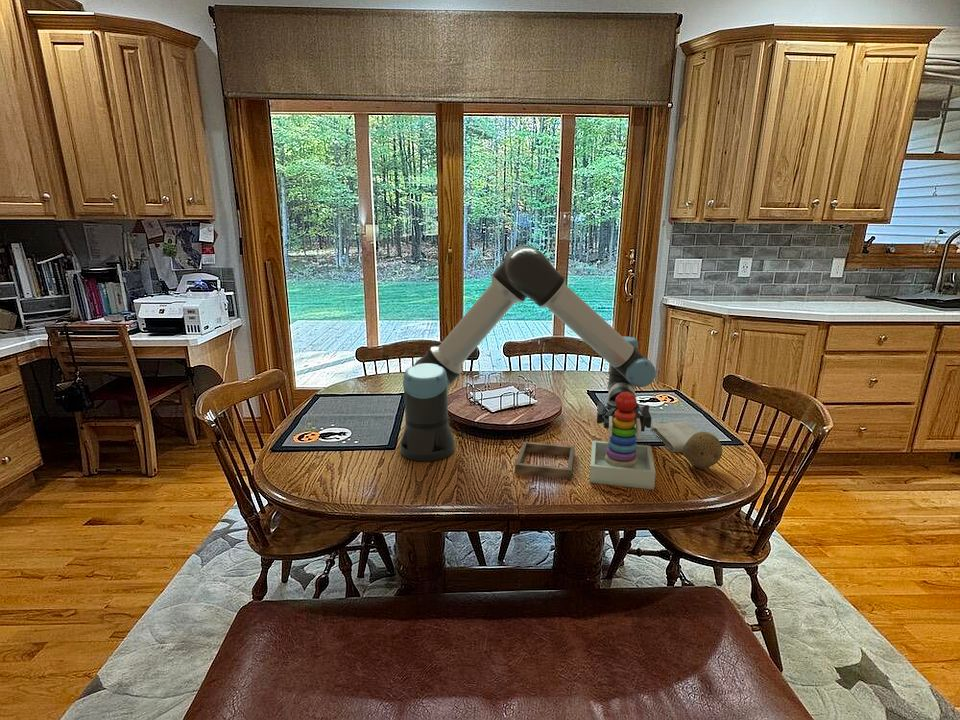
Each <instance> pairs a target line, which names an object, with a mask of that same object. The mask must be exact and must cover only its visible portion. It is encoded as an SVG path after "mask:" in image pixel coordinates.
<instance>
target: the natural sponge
mask: <svg viewBox="0 0 960 720" xmlns="http://www.w3.org/2000/svg"><path fill="white" fill-rule="evenodd" d="M697 432H698V431H697ZM722 446H723V445H722V443H721V441H720V440H719V439H718V438H717V436H716V435H714V434H713V433H710V432H707V431H699V432H698V433H696V434H694V435H693V436H692V437H690V439H689V440H688V441H687V443H686V444H685V446H684V452H683V455H684V457H685V458H686V459H687V460H688V461H689V462H690V463H691V464H692V465H693V466H694V467H696V468H697V469H699V470H706V469H708V468H710V467H712V466H714V465H716V464H717V463H719V461H720V460H721V459H722V456H723V447H722Z"/></svg>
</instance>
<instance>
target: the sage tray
mask: <svg viewBox="0 0 960 720" xmlns="http://www.w3.org/2000/svg"><path fill="white" fill-rule="evenodd" d="M608 442H609V441H604V440H603V441H602V440H592V441H591V453H590V464H589V466H590V467H589V469H590V471H589V483H590V484H597V485H598V484H599V485H600V484H601V485H605V486H606V485H608V486H617V487H623V488H635V489H643V490H651V489H652V490H655V481H656V468H655V463H654V462H655V461H654V456H653V452H652V446H651V445H644V444H637V449H636V451H637V456H636V457H637V459H638V462H637V464H636V465H635V466H634V467H632V468H624V467H614V466H611V465H609V464H608V463H607V462H606V461H605V455H606V454H607V453H606V449H607V447H608ZM652 490H651V491H652Z"/></svg>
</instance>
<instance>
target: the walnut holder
mask: <svg viewBox="0 0 960 720" xmlns="http://www.w3.org/2000/svg"><path fill="white" fill-rule="evenodd" d="M575 449H576V448H575V446H574V445H573V446H572V445H565V444H564V445H563V444H552V443H541V442H532V441H523V442H522V445H521V448H520V451H519V452H518V456H517V458H516V460H515V461H516V462H515V464H514V474H516V473H519V474H518V475H525V474H526V475H527V476H533V477H544V478H553V479H563V480H572V475H573V473H572V472H573V466H574V461H575ZM527 453H535V454H536V453H537V454H545V455H546V454H547V455H554V456H555V455H556V456H564V455H565V457H568V462H567V463H568V464H567V467H561V466H550V465H542V464H532V463H531V464H530V463H523V462H524V460H525V457H526V455H527ZM526 475H525V476H526Z"/></svg>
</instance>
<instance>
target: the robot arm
mask: <svg viewBox="0 0 960 720" xmlns="http://www.w3.org/2000/svg"><path fill="white" fill-rule="evenodd" d="M566 282H567V281H566V278H565V277H564V276H563V275H562V274H561V273H560V272H559V271H558V270H557V269H556V268H555V267H554V266H553V264H552V263H551V262H550V261H549V259H548V258H547V256H546V255H545V254H544V253H543V252H541V250H538V249H537V248H535V247H534V246H531V245H527V244H526V245H518V246H515V247H514V248H512V249H510V250H509V251H508V252H507V253H506V254H505V256H504V257H503V260H502V262H501V263H500V265H498V267H497V268H496V269H495V271H493V273H492V274H491V284H490V285H489V286H488V287H487V288H486V289H485V290H484V292H483V293H482V294H481V295H480V297H478V299H477V300H476V302H475V303H474V304H473V305H472V306H471V307H470V308H469V310H468V311H467V312H466V313H465V314H464V315H463V317H462V318H461V319H460V321H458V323H456V325H455V326H454V328H453V329H452V330H451V331H450V332H449V333H448V335H447V336H446V337H445V338H444V339H443V340H442V342H441V343H440V344H439V345H433V346H431V347H430V348H429V349H428V351H426V353H425V354H424V355H423V356H422V357H420V358H419V359H418V360H416V362H415V363H414V364H413V366H410V367H408V368H407V369H406V370H405V372H404V374H403V379H402V385H403V394H404V398H403V399H404V417H405V418H404V420H405V427H404V428H403V429H404V430H403V433H402V436H401V441H400V443H399V444H400V446H399V447H400V448H399V449H400V454H401V456H403V457H404V458H405V457H406V459H407V458H408V460H410V459H411V460H410V461H415V462H421V463H422V462H436V461H441V460H442V459H443V460H444V459H446V458H448V457H450V456H452V455H453V454H454V452H455V450H456V445H455V444H456V442H455V441H456V440H455V438H454V436H453V432H452V429H451V427H450V424H449V407H448V406H449V405H448V400H449V399H448V394H449V388H450V386H451V385H452V384H453V383H454V382H455V380H456V379H457V378H459V376H460V375H461V374H462V364H463V363H464V362H465V361H466V360H467V359H468V357H469V356H470V355H471V354H472V353H473V352H474V351H475V349H477V347H478V346H479V345H480V344H481V342H483V341H484V339H485V338H486V337H487V336H488V334H489V333H491V331H492V330H493V329H494V328H495V326H496V325H497V324H498V323H499V322H500V321H501V320H502V319H503V317H504V316H505V315H506V313H507V312H509V310H510V309H512V307H513V306H514V304H516V303H523V302H524V301H525V300H526V299H527V298H529V299H530V300H532V301H533V302H534V303H535V304H536V305H537V306H538V307H540V308H547V309H548V310H549V311H550V312H551V313H552V314H553V315H554V316H555V317H556V318H558V319H559V320H560V321H561V322H562V323H563V324H565V325H566V326H567V328H569V329H570V330H571V331H573V332H574V333H575V334H576V335H577V337H578V338H580V339H582V341H584V342H585V343H586V344H587V345H588V346H589V347H591V348H592V350H594V351H595V352H596V353H597V354H598V355H599V356H600V357H602V358H603V360H605V361H606V362H607V363H608V364H609V373H608V374H609V375H608V383H607V390H608V394H607V395H608V396H607V397H608V398H607V399H608V402H606V403H604V402H602V401H599V400H598V401H597V402H596V403H597V406H596V411H597V413H596V423H597V424H602V423H603V428H604V429H608V437H609V438H610V437H612V426H613V423H612V421H613V419H614V418H615V415H614V413H615V411H616V410H618V408H617V407H616V404H615V400H616V397H617V395H618V394H620V393H622V392H630V393H632V394H633V395H634V396H635V397H636V398H637V396H636V391H635V390H636V389H635V388H636V387H637V388H645V387H647V386H649V385H651V384H652V383H653V382H654V381H655V378H656V375H657V370H656V366H655V365H654V364H653V362H651V360H649V359H648V358H646V356H644V355H643V354H642V353H641V352H640V351H639V341H638V339H637V338H636V337H633V336H624V335H623V336H622V335H621V334H620V333H619V332H618V331H617V330H615V328H614V327H613V326H611V325H610V323H608V322H607V320H605V319H604V318H603V317H602V316H600V315H599V314H598V313H597V312H596V311H595V310H594V309H593V308H592V307H591V306H589V305H588V304H587V302H586V301H584V300H583V299H582V298H581V297H580V296H579V295H578V294H576V293H575V292H574V291H573V290H572V289H571V288H570V287H569V286H568V285H567V283H566ZM605 410H607V412H606V413H605ZM632 411H634V412H635V418H634V421H635V428H636V434H635V435H636V437H637V440H641V436H642V432H645V429H646V428H647V429H651V425H652V415H651V413H650V405H649V404H646V405H643V406H640V405H639V404H638V403H637V404H636V407H635V408H634V409H633V410H632ZM604 413H605V414H604Z"/></svg>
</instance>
